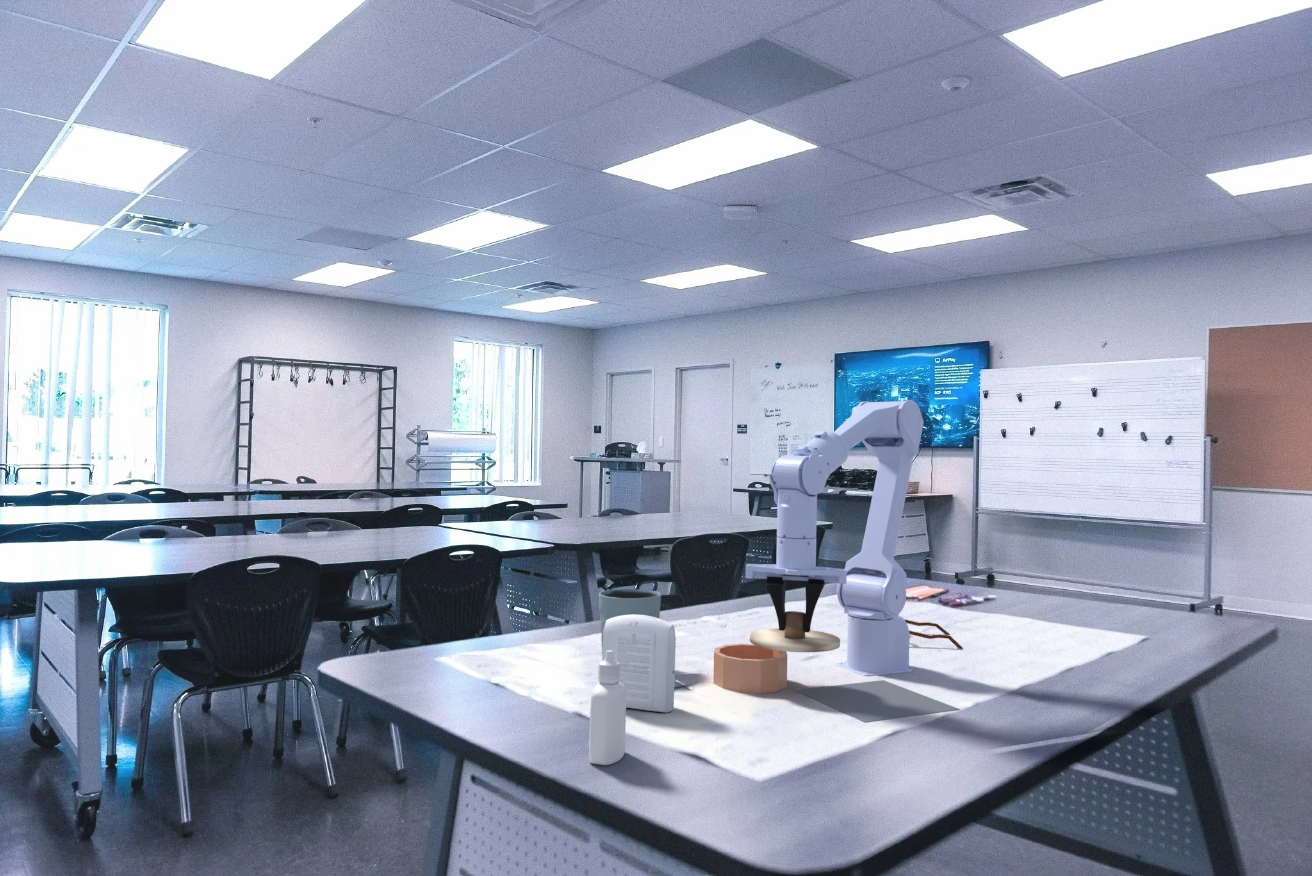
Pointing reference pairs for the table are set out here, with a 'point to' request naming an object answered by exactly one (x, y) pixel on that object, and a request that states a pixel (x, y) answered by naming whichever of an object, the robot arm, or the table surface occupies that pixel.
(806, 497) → the robot arm
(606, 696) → the eye dropper bottle
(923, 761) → the table surface
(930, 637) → the glasses
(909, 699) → the mat
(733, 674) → the bowl
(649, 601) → the green plant pot
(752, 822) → the table surface
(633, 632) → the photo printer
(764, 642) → the lid
